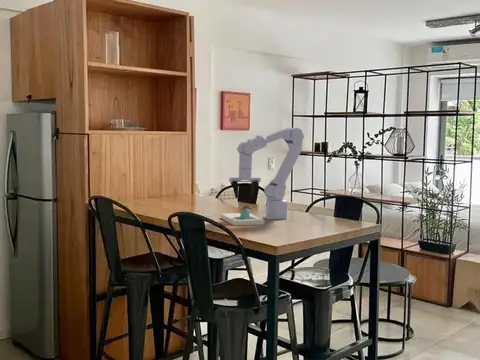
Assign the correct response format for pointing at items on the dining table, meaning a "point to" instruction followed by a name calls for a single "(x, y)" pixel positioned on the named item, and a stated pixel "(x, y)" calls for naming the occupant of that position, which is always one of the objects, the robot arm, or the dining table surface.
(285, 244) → the dining table surface
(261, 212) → the dining table surface
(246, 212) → the cylinder
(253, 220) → the white box with opening
